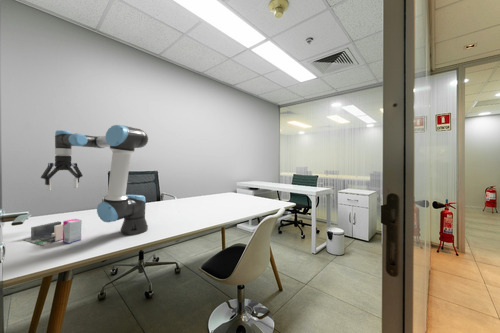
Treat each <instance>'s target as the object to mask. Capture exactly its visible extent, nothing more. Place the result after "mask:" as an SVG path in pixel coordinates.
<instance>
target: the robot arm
mask: <svg viewBox="0 0 500 333" xmlns="http://www.w3.org/2000/svg"><path fill="white" fill-rule="evenodd" d="M54 134H55V135H54V154H55V156H54V163H53V162H48V163H47V167H46V168H45V170H44V172H43V173H42V174H41V176H40V179H43V180H44V184H45V185H46V190H47V191H52V178H53V176H54V175H56V173H58V172H59V171H68V172H69V173H70V174H71V175H72V176H74V178H73V188H75V189H78V188H79V183H80V178H82V177H83V174H82V172H81V170H80V168H79V167H78V163H77V162H72V147H82V148H83V147H85V148H96V149H105V148H109V150H111V151H112V154H111V155H112V156H111V162H110V163H111V164H110V170H109V171H110V172H109V179H108V180H109V181H108V189H107V194H106V195H104V196H103V201H102V202H100V203H99V204H97V207H96V213H97V216H98V218H99V219H100V220H101V221H102V222H104V223H113V222H117V221H119V220H122V219H123V222H122V224H121V227H120V229H119V230H120V234H121V235H124V236H134V235H140V234H142V233H145V232H147V231H148V229H149V228H148V227H149V225H148V223H147V220H146V197H145V196H144V195H143V194H142V195H141V194H127V186H128V180H129V173H130V172H129V171H130V163H131V162H130V161H131V156H132V154H133V153H134V152H135V149H139V148H140V149H141V148H144V147H145V146H146V145H147V144H148V142H149V137H148V134H147V132H146V131H144V130H143V129H140V128H136V127H132V126H127V125H121V124H114V125H112V126H110V127H108V129H107V131H106V133H105V135H99V136H96V135H95V136H94V135H89V134H88V135H86V134H83V133H72V131H69V130H58V129H57V130H56V131H55V133H54ZM53 167H54V168H53ZM72 167H73V168H72Z"/></svg>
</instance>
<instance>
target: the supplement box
mask: <svg viewBox="0 0 500 333" xmlns="http://www.w3.org/2000/svg"><path fill="white" fill-rule="evenodd" d="M82 222H83V221H82V219H79V218H73V219H67V220H64V221H63V222H62V224H63V240H62V243H65V244H68V245H71V244H74V243H77V242H80V241H82V228H83V227H82V224H83V223H82Z"/></svg>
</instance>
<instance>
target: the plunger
mask: <svg viewBox="0 0 500 333" xmlns="http://www.w3.org/2000/svg"><path fill="white" fill-rule="evenodd" d="M52 238H54V239H55V241H57V240H60V241H62V240H61V239H63V223H61V225H56V226H54V233H52V237H50V238H47V239H43V240H42V241H45V240H49V239H52ZM57 242H58V241H57Z"/></svg>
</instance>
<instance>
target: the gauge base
mask: <svg viewBox="0 0 500 333" xmlns="http://www.w3.org/2000/svg"><path fill="white" fill-rule="evenodd" d="M61 224H62V221H54V222H50V223H45V224H40V225H36V226H31V227H30V237H29V238H25V239H23V241H24V242H28V243H32V244H35V245H38V246H42V247H43V246H47V245H50V244H54V243H57V242H60V241H63V239H61V240H57V241H55V239H54V238H52V239H49V240H45V241H42V240H43V239H47V238H50V237H52V233H54V226H56V225H61Z"/></svg>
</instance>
